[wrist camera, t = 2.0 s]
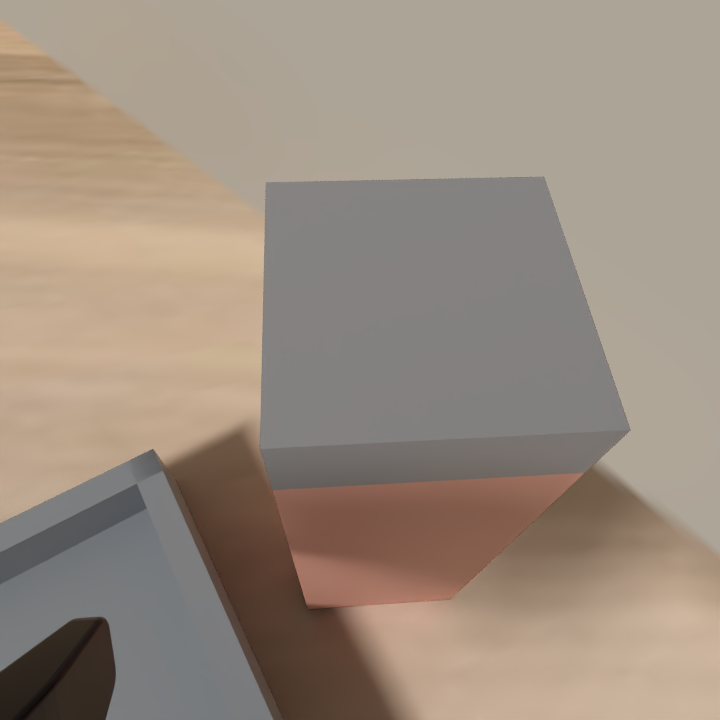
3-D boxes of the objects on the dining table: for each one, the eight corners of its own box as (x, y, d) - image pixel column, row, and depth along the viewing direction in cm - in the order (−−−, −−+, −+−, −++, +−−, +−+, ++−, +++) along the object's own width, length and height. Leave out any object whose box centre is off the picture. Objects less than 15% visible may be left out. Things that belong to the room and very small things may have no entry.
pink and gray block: (450, 599, 18) (630, 430, 7) (307, 609, 18) (259, 448, 7) (431, 464, 20) (544, 176, 9) (304, 471, 20) (265, 182, 9)
